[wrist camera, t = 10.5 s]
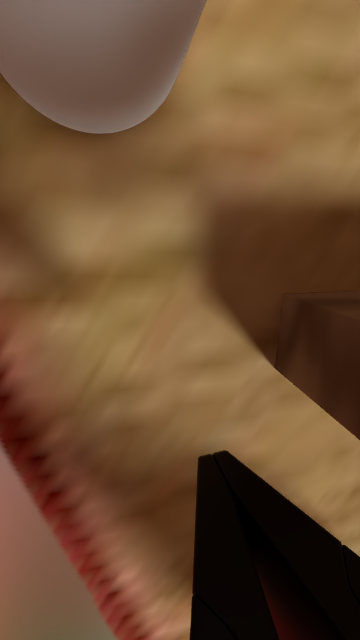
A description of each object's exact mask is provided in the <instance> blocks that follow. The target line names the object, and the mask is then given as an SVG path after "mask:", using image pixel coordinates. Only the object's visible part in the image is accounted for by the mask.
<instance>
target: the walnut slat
mask: <svg viewBox="0 0 360 640" xmlns="http://www.w3.org/2000/svg"><path fill="white" fill-rule="evenodd" d="M275 369H276V370H277V371H279V372H280V373H281V374H282V375H283V376H284V377H286V378H287V379H288V380H289V381H290V382H292V383H293V384H294V385H295V386H296V387H298V388H299V389H300V390H301V391H302V392H303V393H305V394H306V395H307V396H308V397H309V398H311V399H312V400H313V401H314V402H315V403H316V404H318V405H319V406H320V407H321V408H322V409H324V410H325V411H326V412H327V413H328V414H330V415H331V416H332V417H333V418H334V419H335V420H337V421H338V422H339V423H340V424H341V425H343V426H344V427H345V428H346V429H347V430H348V431H350V432H351V433H352V434H353V435H354V436H356V437H357V438H358V439H359V440H360V291H341V292H317V293H293V294H283V301H282V310H281V318H280V327H279V336H278V344H277V353H276V362H275Z"/></svg>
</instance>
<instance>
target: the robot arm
mask: <svg viewBox="0 0 360 640" xmlns="http://www.w3.org/2000/svg"><path fill="white" fill-rule="evenodd" d="M192 593H193V596H192V608H191V628H190V640H360V557H359V556H358V555H357V554H356V553H354V552H353V551H352V550H351V549H349V548H348V547H347V546H346V545H342V544H341V542H340V541H339V540H338V539H337V538H335V537H334V536H333V535H332V534H330V533H329V532H328V531H327V530H325V529H324V528H323V527H322V526H320V525H319V524H318V523H317V522H315V521H314V520H313V519H312V518H310V517H309V516H308V515H307V514H305V513H304V512H303V511H302V510H300V509H299V508H298V507H297V506H295V505H294V504H293V503H292V502H290V501H289V500H288V499H287V498H285V497H284V496H283V495H282V494H280V493H279V492H278V491H277V490H275V489H274V488H273V487H272V486H270V485H269V484H268V483H267V482H265V481H264V480H263V479H262V478H260V477H259V476H258V475H257V474H255V473H254V472H253V471H252V470H250V469H249V468H248V467H247V466H245V465H244V464H243V463H242V462H240V461H239V460H238V459H237V458H235V457H234V456H233V455H232V454H230V453H229V452H228V451H226V450H223V451H219V452H215V453H213V455H212V454H207V455H203V456H199V458H198V470H197V494H196V518H195V542H194V565H193V589H192Z"/></svg>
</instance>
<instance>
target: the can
mask: <svg viewBox="0 0 360 640" xmlns="http://www.w3.org/2000/svg"><path fill="white" fill-rule="evenodd" d="M205 3H206V0H0V73H1V75H2V76H3V77H4V79H5V80H6V81H7V82H8V83H9V85H10V86H11V87H12V88H13V89H14V90H15V91H16V92H17V93H18V94H19V95H20V96H21V97H22V98H23V99H24V100H25V101H26V102H27V103H28V104H29V105H31V106H32V107H33V108H34V109H36V110H37V111H38V112H40V113H41V114H43V115H44V116H46V117H47V118H49V119H51V120H53V121H54V122H56V123H58V124H61V125H63V126H65V127H68V128H71V129H74V130H77V131H81V132H87V133H95V134H106V133H114V132H119V131H123V130H126V129H129V128H131V127H134V126H136V125H138V124H139V123H141V122H143V121H144V120H146V119H147V118H148V117H150V116H151V115H152V114H153V113H154V112H155V111H156V110H157V109H158V108H159V107H160V106H161V104H162V103H163V102H164V100H165V99H166V97H167V96H168V94H169V93H170V91H171V89H172V87H173V85H174V83H175V81H176V79H177V76H178V74H179V72H180V69H181V67H182V64H183V61H184V59H185V56H186V54H187V51H188V48H189V46H190V43H191V40H192V38H193V35H194V32H195V30H196V27H197V24H198V22H199V19H200V16H201V14H202V11H203V8H204V6H205Z"/></svg>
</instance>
